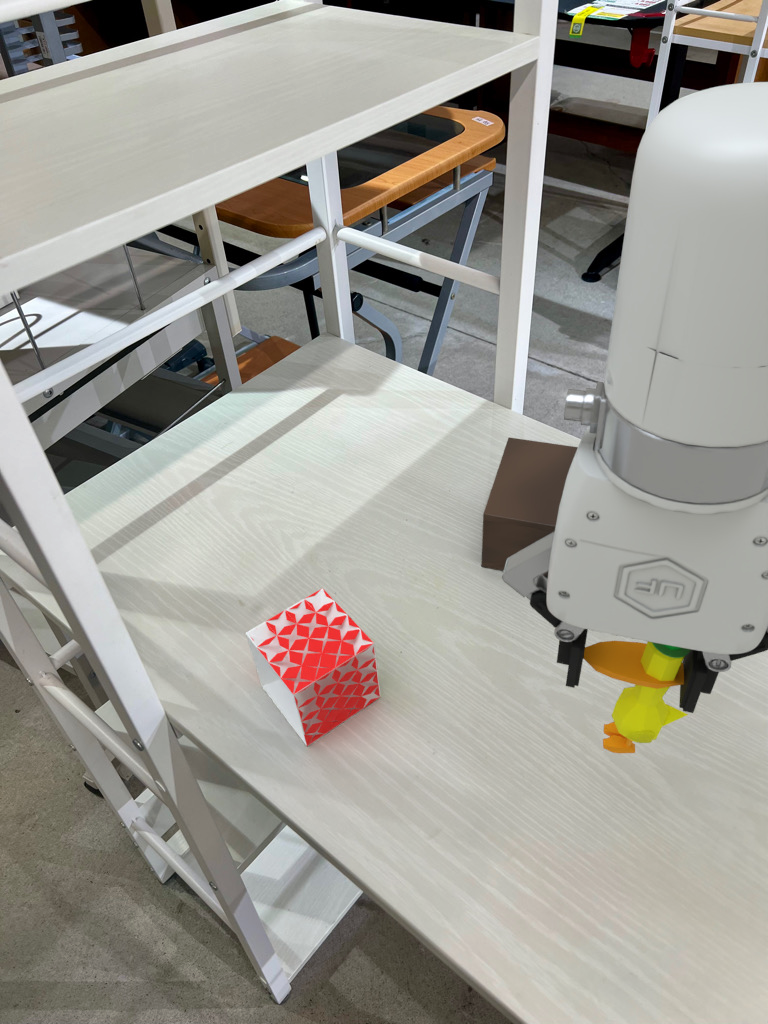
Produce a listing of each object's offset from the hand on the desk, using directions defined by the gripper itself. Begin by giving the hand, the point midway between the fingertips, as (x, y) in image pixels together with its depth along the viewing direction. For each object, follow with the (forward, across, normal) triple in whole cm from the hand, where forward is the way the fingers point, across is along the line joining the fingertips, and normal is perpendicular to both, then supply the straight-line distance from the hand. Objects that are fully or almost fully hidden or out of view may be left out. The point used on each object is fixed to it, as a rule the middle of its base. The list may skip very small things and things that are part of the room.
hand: (630, 676), depth 43 cm
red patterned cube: (+20, -25, +6) cm, 33 cm away
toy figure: (+7, 0, 0) cm, 7 cm away
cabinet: (+21, -7, +31) cm, 38 cm away
